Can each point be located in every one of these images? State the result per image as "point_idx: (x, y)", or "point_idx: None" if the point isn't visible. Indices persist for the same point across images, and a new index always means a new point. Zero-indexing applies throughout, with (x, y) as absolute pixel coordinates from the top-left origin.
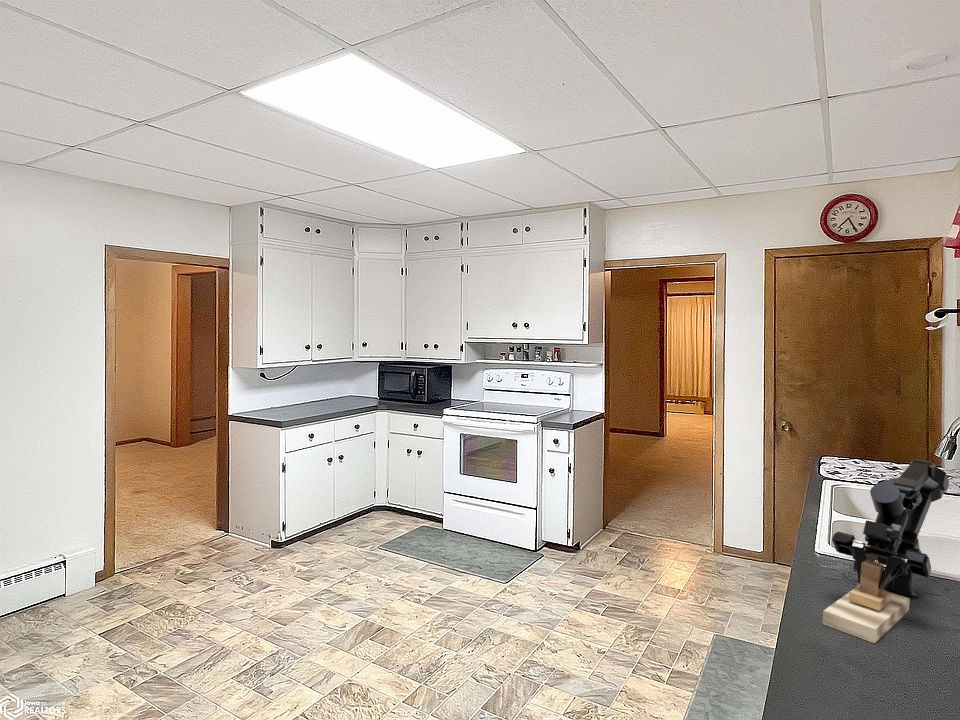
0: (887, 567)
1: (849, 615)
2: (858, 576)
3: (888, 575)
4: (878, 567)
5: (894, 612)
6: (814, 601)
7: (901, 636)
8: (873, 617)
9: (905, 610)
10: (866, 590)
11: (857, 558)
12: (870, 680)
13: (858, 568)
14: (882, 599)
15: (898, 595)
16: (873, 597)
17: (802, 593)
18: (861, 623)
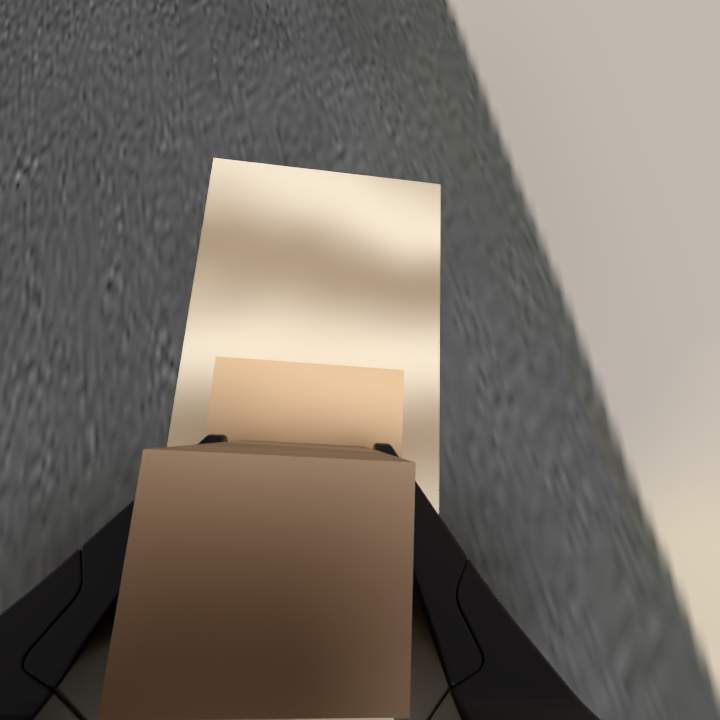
0: (39, 663)
1: (340, 219)
2: None
3: (86, 552)
4: (166, 471)
5: None
6: (533, 436)
7: (148, 357)
8: (246, 284)
9: None
10: (317, 444)
11: (532, 667)
12: None
13: (436, 531)
14: (208, 417)
15: None
16: (263, 401)
17: (607, 489)
18: (276, 174)
